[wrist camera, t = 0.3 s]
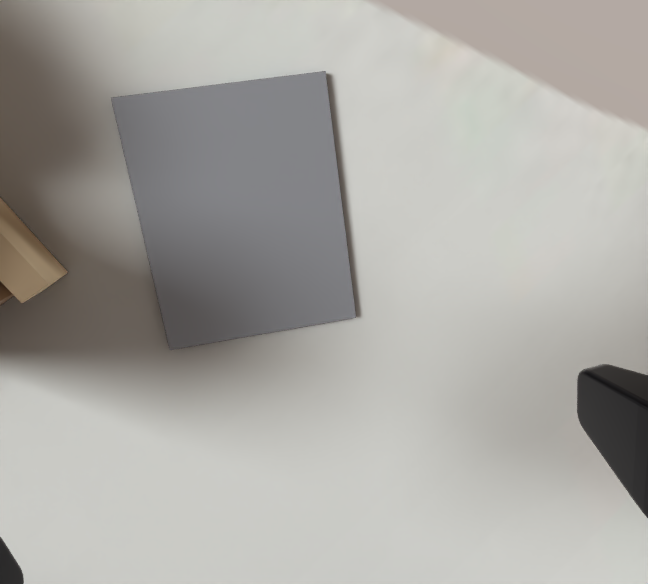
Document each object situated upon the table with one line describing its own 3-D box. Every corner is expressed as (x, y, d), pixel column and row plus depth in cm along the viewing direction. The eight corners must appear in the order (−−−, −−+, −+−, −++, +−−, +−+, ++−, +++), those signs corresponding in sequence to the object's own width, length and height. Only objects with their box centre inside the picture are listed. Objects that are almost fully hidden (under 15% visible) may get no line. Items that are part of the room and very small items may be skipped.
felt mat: (354, 315, 22) (355, 317, 22) (171, 347, 21) (169, 350, 21) (324, 72, 19) (325, 71, 19) (113, 98, 18) (110, 97, 18)
